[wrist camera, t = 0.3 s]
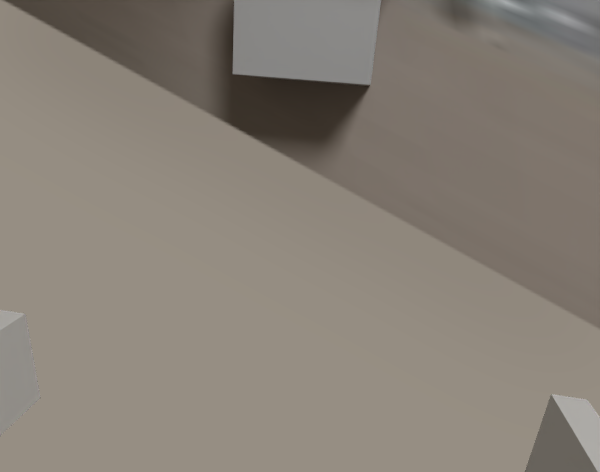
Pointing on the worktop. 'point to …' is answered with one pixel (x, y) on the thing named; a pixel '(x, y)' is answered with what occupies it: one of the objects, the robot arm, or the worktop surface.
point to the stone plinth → (306, 40)
